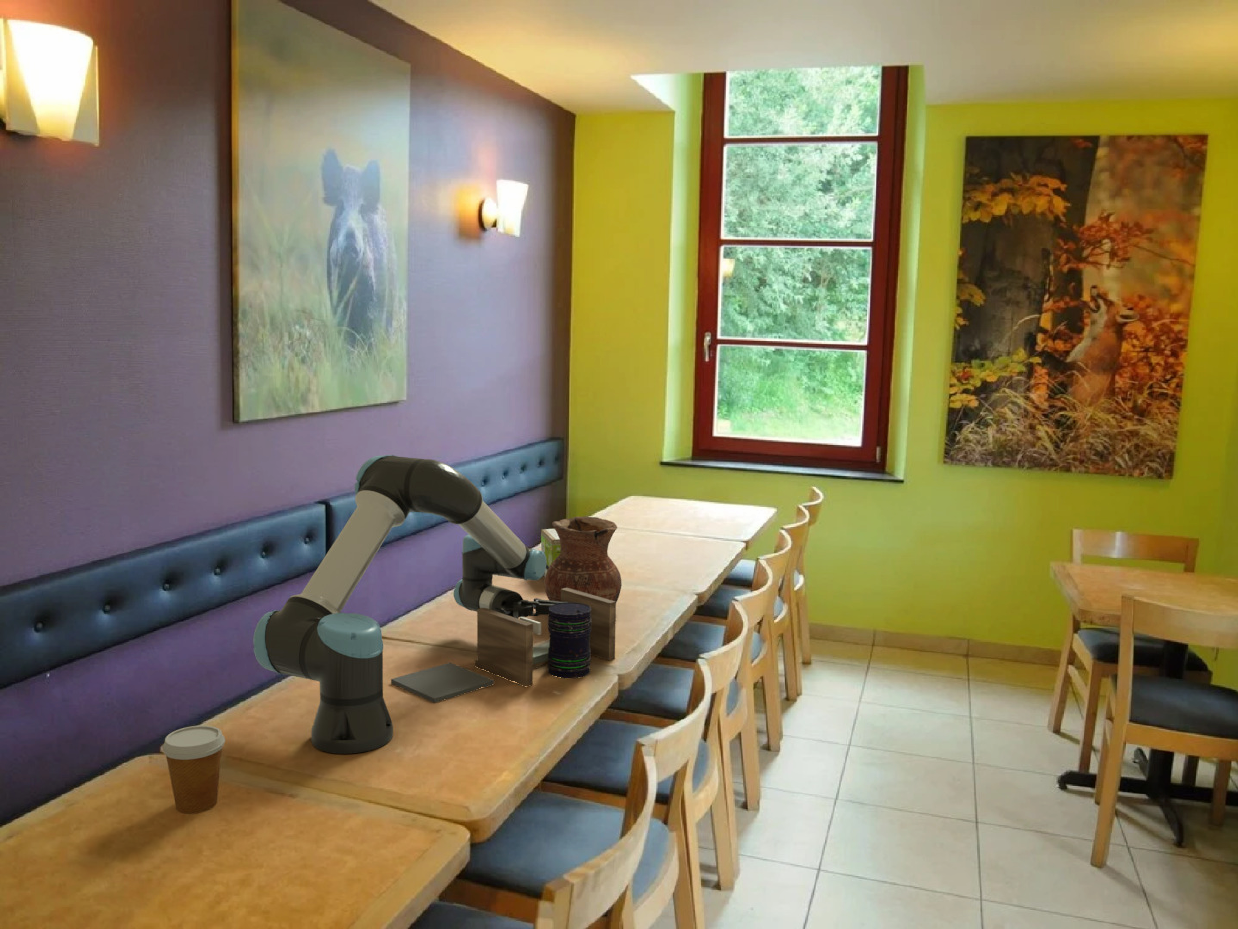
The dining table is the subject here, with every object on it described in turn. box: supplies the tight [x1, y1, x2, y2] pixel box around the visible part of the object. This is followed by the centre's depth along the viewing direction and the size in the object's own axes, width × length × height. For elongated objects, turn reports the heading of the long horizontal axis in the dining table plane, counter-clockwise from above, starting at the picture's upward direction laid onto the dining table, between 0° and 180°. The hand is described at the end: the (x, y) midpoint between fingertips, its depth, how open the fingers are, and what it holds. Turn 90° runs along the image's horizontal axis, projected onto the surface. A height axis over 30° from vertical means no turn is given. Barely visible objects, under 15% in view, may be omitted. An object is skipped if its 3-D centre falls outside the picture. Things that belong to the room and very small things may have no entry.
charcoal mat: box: [390, 662, 495, 704], centre depth 228 cm, size 16×16×1 cm
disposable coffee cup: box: [161, 725, 226, 815], centre depth 170 cm, size 10×10×12 cm
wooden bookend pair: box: [474, 588, 617, 687], centre depth 242 cm, size 28×18×14 cm, turn 136°
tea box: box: [540, 528, 561, 578], centre depth 319 cm, size 15×10×15 cm, turn 17°
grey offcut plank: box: [533, 643, 550, 665], centre depth 245 cm, size 11×5×2 cm, turn 136°
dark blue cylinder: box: [547, 602, 592, 679], centre depth 237 cm, size 10×10×15 cm
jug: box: [543, 516, 622, 603], centre depth 284 cm, size 22×21×25 cm
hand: (561, 622), depth 239 cm, fingers open, 13 cm apart
